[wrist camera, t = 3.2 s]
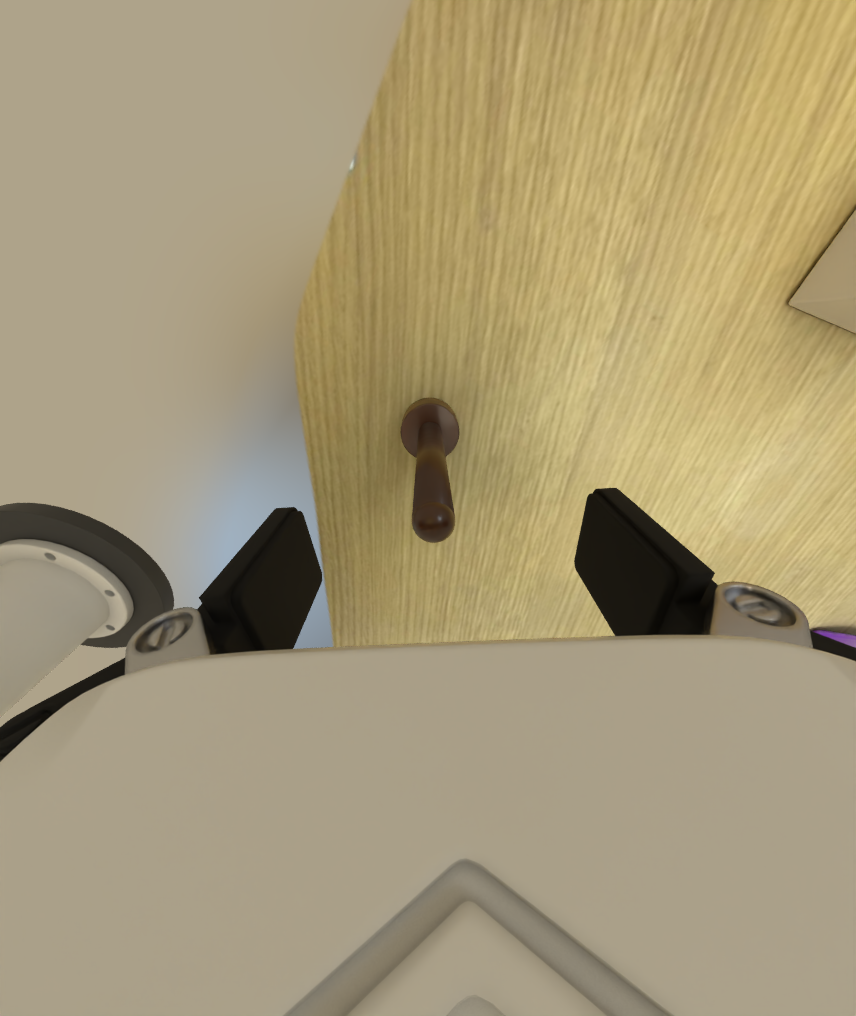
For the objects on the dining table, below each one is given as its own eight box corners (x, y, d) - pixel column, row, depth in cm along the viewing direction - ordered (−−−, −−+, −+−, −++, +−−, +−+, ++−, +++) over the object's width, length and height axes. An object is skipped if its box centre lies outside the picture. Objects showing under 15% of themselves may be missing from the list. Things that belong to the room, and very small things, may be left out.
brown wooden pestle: (405, 453, 24) (385, 579, 12) (399, 399, 22) (367, 485, 10) (457, 450, 24) (490, 573, 12) (456, 395, 22) (493, 476, 10)
